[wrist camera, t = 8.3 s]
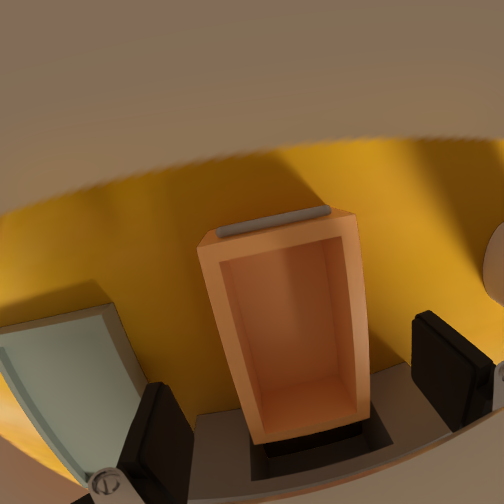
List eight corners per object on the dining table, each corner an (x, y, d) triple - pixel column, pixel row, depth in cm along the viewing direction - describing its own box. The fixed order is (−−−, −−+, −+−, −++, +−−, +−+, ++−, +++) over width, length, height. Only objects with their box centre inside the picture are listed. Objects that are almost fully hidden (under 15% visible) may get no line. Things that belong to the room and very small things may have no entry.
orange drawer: (347, 373, 21) (369, 417, 16) (251, 395, 21) (254, 444, 16) (324, 196, 18) (353, 201, 13) (206, 221, 18) (193, 235, 13)
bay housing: (228, 474, 22) (226, 549, 14) (197, 415, 21) (182, 503, 13) (403, 429, 22) (440, 493, 14) (405, 361, 20) (461, 430, 12)
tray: (202, 476, 22) (200, 492, 20) (89, 474, 23) (83, 487, 21) (113, 302, 19) (101, 314, 17) (-4, 328, 19) (-17, 337, 17)
